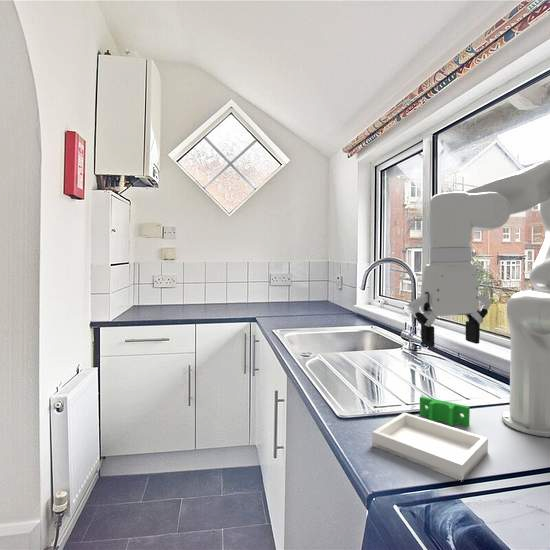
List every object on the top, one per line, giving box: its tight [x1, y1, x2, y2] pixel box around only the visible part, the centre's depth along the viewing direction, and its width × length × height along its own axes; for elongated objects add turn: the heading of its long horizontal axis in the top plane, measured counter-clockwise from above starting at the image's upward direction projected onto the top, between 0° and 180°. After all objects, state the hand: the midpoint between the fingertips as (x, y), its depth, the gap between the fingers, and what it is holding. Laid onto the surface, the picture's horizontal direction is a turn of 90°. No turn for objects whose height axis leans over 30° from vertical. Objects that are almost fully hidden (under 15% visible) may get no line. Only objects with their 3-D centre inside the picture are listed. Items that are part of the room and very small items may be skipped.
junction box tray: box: [371, 412, 489, 482], centre depth 78 cm, size 14×18×3 cm
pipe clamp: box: [419, 396, 471, 427], centre depth 91 cm, size 11×4×5 cm, turn 52°
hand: (450, 343), depth 74 cm, fingers open, 9 cm apart
